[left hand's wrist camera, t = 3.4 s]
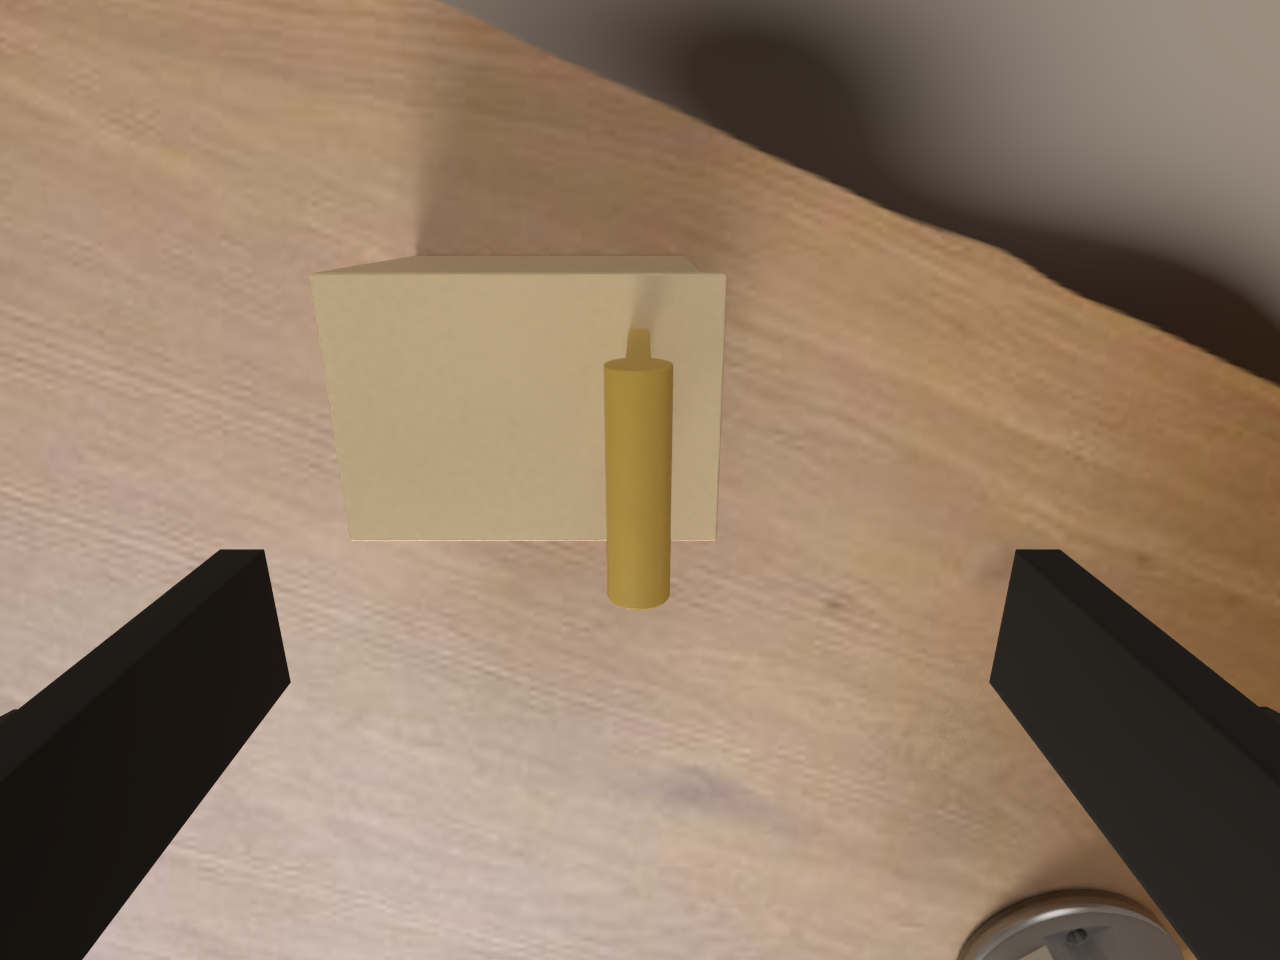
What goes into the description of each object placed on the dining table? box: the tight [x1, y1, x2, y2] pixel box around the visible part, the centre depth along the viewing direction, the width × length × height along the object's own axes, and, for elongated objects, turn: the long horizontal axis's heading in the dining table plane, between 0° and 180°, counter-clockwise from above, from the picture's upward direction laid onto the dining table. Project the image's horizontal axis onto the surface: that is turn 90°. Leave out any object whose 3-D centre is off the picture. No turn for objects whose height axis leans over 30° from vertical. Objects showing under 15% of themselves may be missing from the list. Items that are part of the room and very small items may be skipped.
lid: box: [310, 272, 727, 610], centre depth 22 cm, size 14×10×9 cm
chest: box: [323, 256, 702, 272], centre depth 32 cm, size 13×10×11 cm
